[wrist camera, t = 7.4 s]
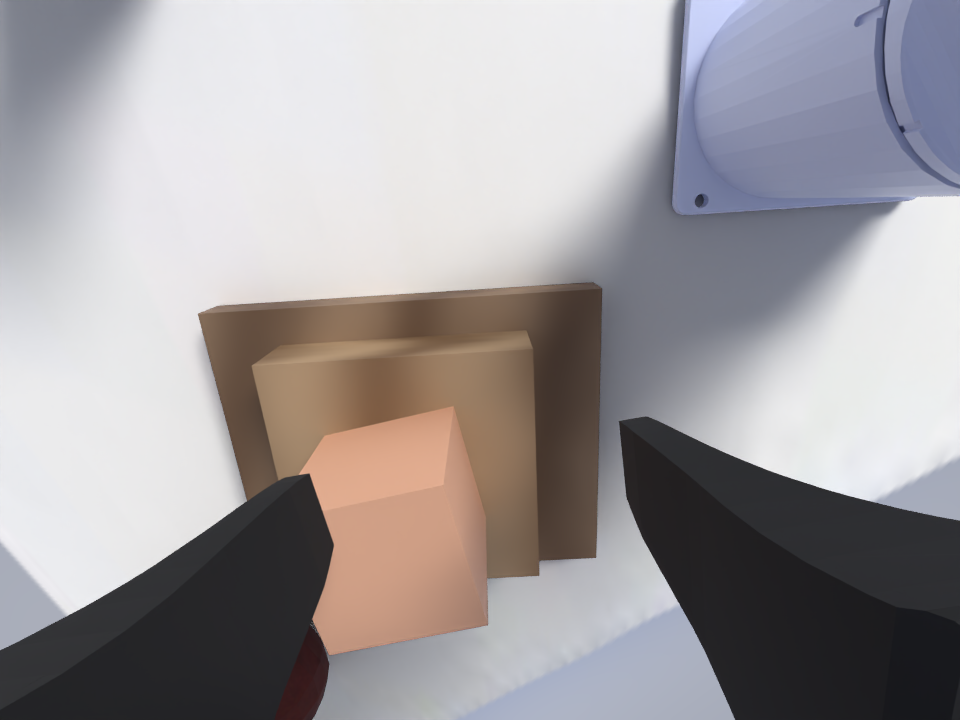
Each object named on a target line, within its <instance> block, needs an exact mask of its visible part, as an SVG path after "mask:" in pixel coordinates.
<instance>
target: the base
mask: <svg viewBox="0 0 960 720" xmlns="http://www.w3.org/2000/svg"><path fill="white" fill-rule="evenodd" d="M601 312H602V288H600V287H599V286H598V285H596V284H595V283H593V282H591V283H575V284H559V285H543V286H527V287H511V288H495V289H479V290H463V291H447V292H431V293H415V294H399V295H383V296H367V297H351V298H336V299H320V300H304V301H288V302H272V303H256V304H240V305H224V306H216V307H214V308H211V309H209V310H206V311H204V312H201V313H199V314H198V316H199V320H200V324H201V328H202V331H203V335H204V339H205V343H206V347H207V350H208V354H209V358H210V362H211V366H212V369H213V373H214V377H215V381H216V384H217V388H218V392H219V396H220V400H221V403H222V407H223V411H224V415H225V418H226V422H227V426H228V430H229V434H230V437H231V441H232V445H233V449H234V453H235V456H236V460H237V464H238V468H239V471H240V475H241V479H242V483H243V487H244V490H245V494H246V498H247V501H248V500H250V499H251V498H252V497H254V496H255V495H257V494H258V493H260V492H261V491H263V490H264V489H266V488H267V487H269V486H270V485H272V484H274V483H275V482H277V481H279V480H281V479H283V478H285V477H291V476H296V475H299V473H300V472H301V470H302V469H303V467H304V466H305V464H306V463H307V461H308V460H309V458H310V457H311V455H312V454H313V452H314V451H315V449H316V448H317V446H318V445H319V443H320V442H321V440H322V439H323V437H324V436H326V435H330V434H334V433H339V432H343V431H347V430H352V429H356V428H361V427H365V426H369V425H374V424H378V423H382V422H387V421H391V420H395V419H400V418H404V417H409V416H413V415H417V414H422V413H426V412H430V411H435V410H439V409H444V408H448V407H452V406H454V410H455V413H456V417H457V420H458V424H459V427H460V430H461V434H462V437H463V441H464V444H465V447H466V451H467V454H468V458H469V461H470V465H471V468H472V471H473V475H474V478H475V482H476V485H477V489H478V492H479V495H480V499H481V502H482V506H483V509H484V512H485V516H486V549H487V578H503V577H523V576H539V561H541V560H561V559H581V558H596V541H597V495H598V449H599V403H600V358H601Z"/></svg>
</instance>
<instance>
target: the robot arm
mask: <svg viewBox="0 0 960 720" xmlns="http://www.w3.org/2000/svg"><path fill="white" fill-rule="evenodd" d="M699 194H701V195H702V196H703V197H704V202H703V204H702V205H701V206H700V207H697V206H696V205H695V199H696V197H697V196H698V195H699ZM927 196H960V0H686V2H685V17H684V32H683V47H682V62H681V77H680V92H679V107H678V122H677V137H676V152H675V167H674V182H673V197H672V205H673V209H674V210H675V212H677V213H678V214H681V215H697V214H712V213H728V212H743V211H758V210H773V209H789V208H804V207H819V206H835V205H850V204H865V203H881V202H896V201H909V200H913V199H915V198H916V197H927ZM619 425H620V436H621V446H622V456H623V466H624V476H625V486H626V496H627V500H628V503H629V505H630V508H631V510H632V513H633V516H634V518H635V521H636V523H637V525H638V528H639V530H640V533H641V535H642V537H643V539H644V541H645V543H646V545H647V547H648V548H649V550H650V552H651V554H652V556H653V558H654V559H655V561H656V563H657V565H658V567H659V568H660V570H661V572H662V574H663V575H664V577H665V579H666V581H667V583H668V584H669V586H670V588H671V590H672V592H673V593H674V595H675V597H676V599H677V600H678V602H679V604H680V606H681V608H682V609H683V611H684V613H685V615H686V616H687V618H688V620H689V622H690V624H691V625H692V627H693V629H694V631H695V633H696V635H697V637H698V638H699V641H700V643H701V645H702V646H703V648H704V650H705V652H706V654H707V657H708V659H709V661H710V664H711V666H712V668H713V670H714V673H715V675H716V677H717V679H718V681H719V684H720V686H721V688H722V691H723V693H724V695H725V697H726V700H727V702H728V704H729V706H730V709H731V711H732V713H733V715H734V718H735V720H960V521H958V520H953V519H947V518H942V517H936V516H932V515H927V514H922V513H917V512H912V511H907V510H903V509H899V508H894V507H891V506H887V505H882V504H878V503H874V502H870V501H866V500H862V499H858V498H854V497H850V496H847V495H843V494H840V493H836V492H832V491H829V490H825V489H822V488H819V487H816V486H813V485H810V484H807V483H803V482H800V481H797V480H794V479H791V478H788V477H785V476H782V475H779V474H777V473H774V472H771V471H768V470H766V469H763V468H761V467H758V466H756V465H753V464H751V463H748V462H746V461H743V460H741V459H738V458H736V457H733V456H731V455H729V454H726V453H724V452H722V451H720V450H717V449H715V448H713V447H711V446H709V445H706V444H704V443H702V442H700V441H698V440H696V439H694V438H692V437H690V436H688V435H685V434H683V433H681V432H679V431H677V430H675V429H673V428H671V427H669V426H667V425H665V424H663V423H661V422H659V421H656V420H654V419H652V418H649V417H640V418H634V419H629V420H623V421H619ZM333 548H334V543H333V540H332V537H331V534H330V531H329V528H328V525H327V523H326V520H325V517H324V514H323V511H322V508H321V505H320V502H319V500H318V497H317V494H316V491H315V488H314V485H313V482H312V479H311V476H310V474H309V473H308V474H302V475H296V476H291V477H285V478H283V479H281V480H279V481H277V482H275V483H274V484H272V485H270V486H269V487H267V488H266V489H264V490H263V491H261V492H260V493H258V494H257V495H255V496H254V497H252V498H251V499H250V500H248V501H247V502H245V503H244V504H243V505H241V506H240V507H238V508H237V509H236V510H234V511H233V512H231V513H230V514H229V515H227V516H226V517H224V518H223V519H222V520H220V521H219V522H217V523H216V524H215V525H213V526H212V527H210V528H209V529H208V530H206V531H205V532H203V533H202V534H200V535H199V536H197V537H196V538H194V539H193V540H191V541H190V542H188V543H187V544H185V545H184V546H183V547H181V548H180V549H178V550H177V551H175V552H174V553H172V554H171V555H169V556H168V557H166V558H165V559H163V560H162V561H160V562H159V563H157V564H156V565H154V566H153V567H151V568H150V569H148V570H146V571H145V572H143V573H142V574H140V575H138V576H137V577H135V578H133V579H132V580H130V581H129V582H127V583H125V584H124V585H122V586H120V587H118V588H117V589H115V590H113V591H112V592H110V593H108V594H106V595H105V596H103V597H101V598H100V599H98V600H96V601H94V602H93V603H91V604H89V605H87V606H85V607H84V608H82V609H80V610H78V611H76V612H74V613H72V614H70V615H68V616H67V617H65V618H63V619H61V620H59V621H57V622H55V623H53V624H51V625H49V626H47V627H46V628H44V629H42V630H40V631H38V632H36V633H34V634H32V635H30V636H28V637H26V638H24V639H23V640H21V641H19V642H17V643H15V644H13V645H11V646H9V647H7V648H4V649H2V650H0V720H275V716H276V713H277V710H278V707H279V704H280V701H281V699H282V696H283V693H284V690H285V687H286V685H287V682H288V680H289V677H290V675H291V672H292V669H293V667H294V664H295V662H296V659H297V657H298V654H299V652H300V649H301V646H302V644H303V641H304V639H305V636H306V634H307V631H308V629H309V626H310V624H311V621H312V618H313V616H314V613H315V610H316V608H317V605H318V603H319V600H320V597H321V595H322V592H323V589H324V586H325V582H326V579H327V575H328V571H329V567H330V562H331V557H332V553H333Z"/></svg>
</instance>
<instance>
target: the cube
mask: <svg viewBox="0 0 960 720" xmlns="http://www.w3.org/2000/svg"><path fill="white" fill-rule="evenodd" d="M308 473H309V474H310V476H311V479H312V482H313V485H314V488H315V491H316V494H317V497H318V500H319V502H320V505H321V508H322V511H323V514H324V517H325V520H326V523H327V525H328V528H329V531H330V534H331V537H332V540H333V543H334V548H333V553H332V557H331V562H330V567H329V571H328V575H327V579H326V582H325V586H324V589H323V592H322V595H321V597H320V600H319V603H318V605H317V608H316V610H315V613H314V616H313V618H312V620H313V622H314V624H315V626H316V629H317V631H318V633H319V635H320V637H321V639H322V641H323V643H324V645H325V647H326V650H327V652H328V654H329V655H334V654H339V653H344V652H349V651H355V650H360V649H365V648H370V647H376V646H381V645H386V644H391V643H397V642H402V641H407V640H413V639H418V638H423V637H428V636H434V635H439V634H444V633H449V632H455V631H460V630H465V629H470V628H476V627H481V626H486V625H488V600H487V549H486V516H485V512H484V509H483V506H482V502H481V499H480V495H479V492H478V489H477V485H476V482H475V478H474V475H473V471H472V468H471V465H470V461H469V458H468V454H467V451H466V447H465V444H464V441H463V437H462V434H461V430H460V427H459V424H458V420H457V417H456V413H455V410H454V406H452V407H448V408H444V409H439V410H435V411H430V412H426V413H422V414H417V415H413V416H409V417H404V418H400V419H395V420H391V421H387V422H382V423H378V424H374V425H369V426H365V427H361V428H356V429H352V430H347V431H343V432H339V433H334V434H330V435H326V436H324V437H323V439H322V440H321V442H320V443H319V445H318V446H317V448H316V449H315V451H314V452H313V454H312V455H311V457H310V458H309V460H308V461H307V463H306V464H305V466H304V467H303V469H302V470H301V472H300V473H299V475H302V474H308Z"/></svg>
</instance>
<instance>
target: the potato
mask: <svg viewBox="0 0 960 720" xmlns="http://www.w3.org/2000/svg"><path fill="white" fill-rule="evenodd" d="M328 670H329V662H328V658H327V655H326V651H325V649H324V646H323V643H322V641H321V638H320V637H319V636H318V634H317V633H316V632H315V631H314V630H313V629H312V627H311V626H309V629H308V631H307V634H306V636H305V639H304V641H303V644H302V646H301V649H300V652H299V654H298V657H297V659H296V662H295V664H294V667H293V669H292V672H291V675H290V677H289V680H288V682H287V685H286V687H285V690H284V693H283V696H282V699H281V701H280V704H279V707H278V710H277V713H276V716H275V720H312V719H313V717H314V716H315V714H316V712H317V709H318V707H319V705H320V703H321V701H322V698H323V695H324V691H325V687H326V683H327V678H328Z"/></svg>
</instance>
